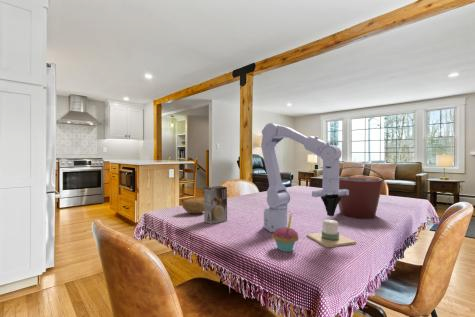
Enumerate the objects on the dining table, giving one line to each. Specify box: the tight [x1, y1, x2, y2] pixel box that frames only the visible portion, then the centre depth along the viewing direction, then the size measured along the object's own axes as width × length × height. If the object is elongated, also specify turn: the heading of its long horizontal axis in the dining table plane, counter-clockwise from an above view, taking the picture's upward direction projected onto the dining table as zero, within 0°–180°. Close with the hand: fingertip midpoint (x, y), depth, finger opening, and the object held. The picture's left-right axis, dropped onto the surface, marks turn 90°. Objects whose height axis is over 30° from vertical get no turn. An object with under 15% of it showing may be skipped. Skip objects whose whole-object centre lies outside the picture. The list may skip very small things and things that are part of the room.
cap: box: [322, 219, 339, 235], centre depth 91 cm, size 5×5×4 cm
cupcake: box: [271, 213, 299, 253], centre depth 82 cm, size 9×8×12 cm
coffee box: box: [203, 185, 228, 225], centre depth 116 cm, size 9×6×16 cm
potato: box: [181, 197, 204, 215], centre depth 131 cm, size 10×14×8 cm
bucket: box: [337, 165, 386, 220], centre depth 128 cm, size 24×22×25 cm
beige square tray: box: [306, 230, 357, 249], centre depth 91 cm, size 12×12×6 cm
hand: (330, 215), depth 91 cm, fingers closed
